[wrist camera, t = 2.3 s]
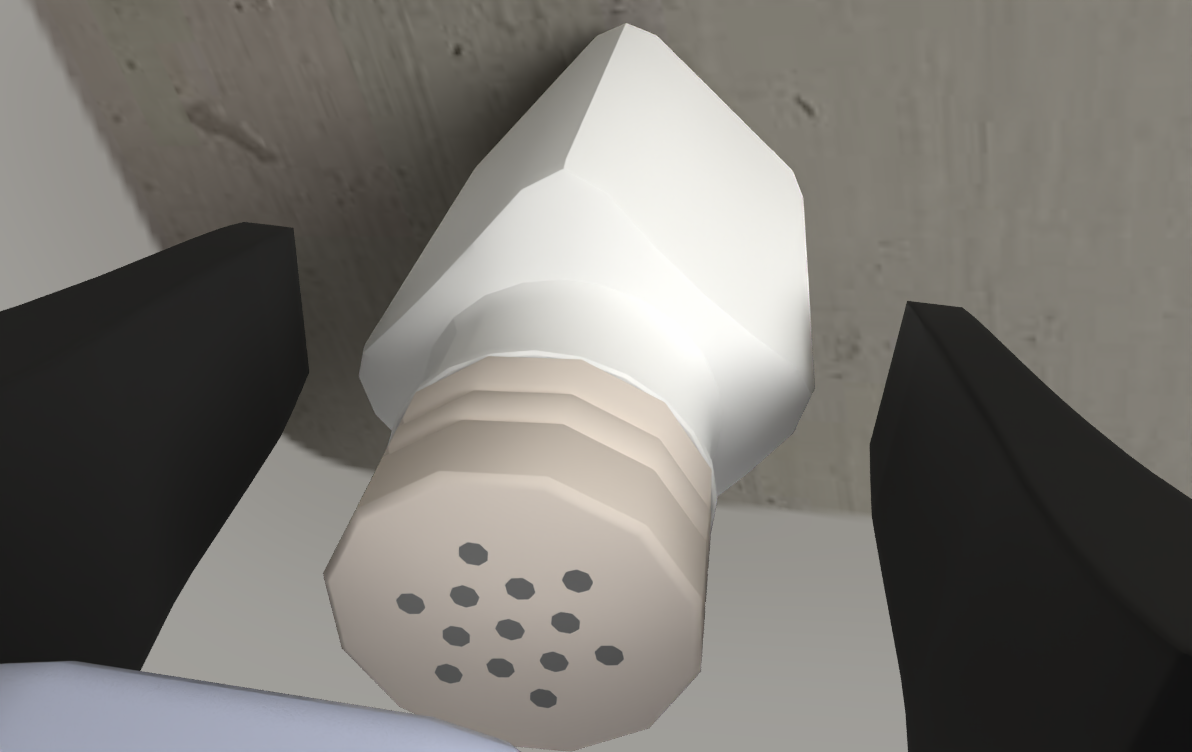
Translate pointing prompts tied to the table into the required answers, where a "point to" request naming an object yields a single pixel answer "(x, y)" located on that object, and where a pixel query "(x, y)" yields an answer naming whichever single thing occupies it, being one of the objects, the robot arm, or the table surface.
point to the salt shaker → (576, 407)
